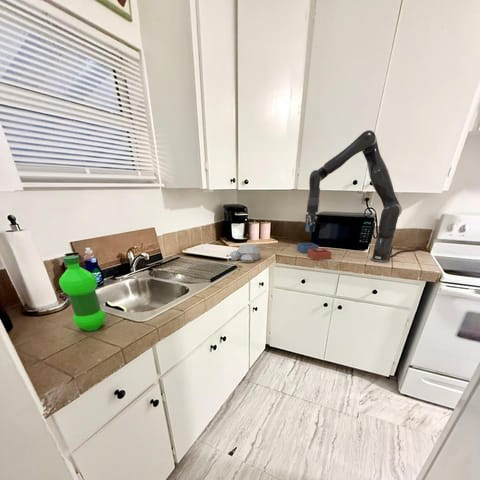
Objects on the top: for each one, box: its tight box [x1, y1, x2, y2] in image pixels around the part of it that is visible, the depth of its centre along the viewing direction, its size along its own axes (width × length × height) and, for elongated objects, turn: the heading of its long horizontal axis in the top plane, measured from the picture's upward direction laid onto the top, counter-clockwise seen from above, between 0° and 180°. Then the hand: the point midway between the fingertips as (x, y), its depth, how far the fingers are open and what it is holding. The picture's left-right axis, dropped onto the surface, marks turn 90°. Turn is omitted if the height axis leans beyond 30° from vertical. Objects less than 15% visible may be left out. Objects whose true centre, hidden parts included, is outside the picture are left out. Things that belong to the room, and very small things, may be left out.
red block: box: [315, 249, 324, 253], centre depth 172 cm, size 4×4×4 cm
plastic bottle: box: [58, 254, 107, 332], centre depth 86 cm, size 10×10×25 cm
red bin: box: [306, 247, 332, 261], centre depth 172 cm, size 11×11×4 cm
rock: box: [228, 243, 262, 263], centre depth 168 cm, size 18×20×10 cm
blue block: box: [305, 223, 316, 233], centre depth 181 cm, size 4×4×4 cm
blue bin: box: [296, 242, 319, 254], centre depth 188 cm, size 11×11×4 cm
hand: (309, 230), depth 182 cm, fingers closed on blue block, 4 cm apart
